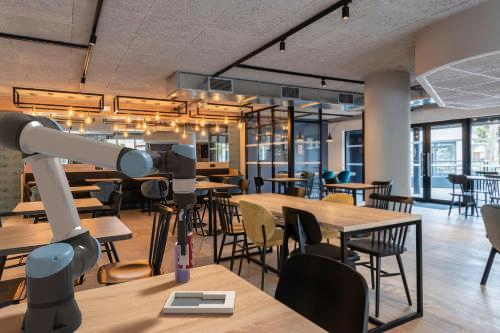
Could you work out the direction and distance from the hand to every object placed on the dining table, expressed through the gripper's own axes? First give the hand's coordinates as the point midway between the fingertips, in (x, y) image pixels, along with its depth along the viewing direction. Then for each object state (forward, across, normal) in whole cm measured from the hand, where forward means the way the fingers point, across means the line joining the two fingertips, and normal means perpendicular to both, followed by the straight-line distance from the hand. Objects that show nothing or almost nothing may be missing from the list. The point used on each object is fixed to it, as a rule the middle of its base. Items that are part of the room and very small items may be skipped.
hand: (186, 261), depth 105 cm
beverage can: (+15, +21, +6) cm, 27 cm away
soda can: (+2, 0, 0) cm, 2 cm away
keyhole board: (+15, 0, -5) cm, 16 cm away
